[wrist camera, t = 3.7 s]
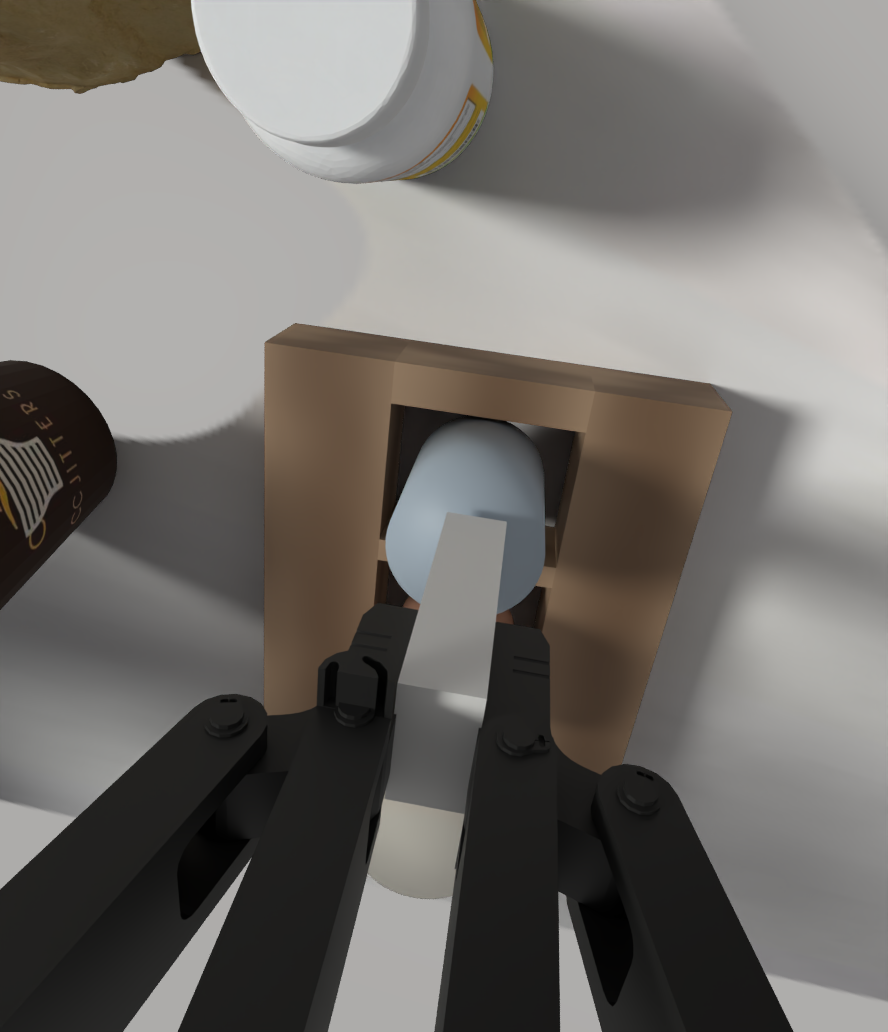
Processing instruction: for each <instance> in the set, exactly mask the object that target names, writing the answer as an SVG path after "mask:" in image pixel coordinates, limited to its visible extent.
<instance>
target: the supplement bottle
mask: <svg viewBox="0 0 888 1032" xmlns="http://www.w3.org/2000/svg"><path fill="white" fill-rule="evenodd" d="M191 8H192V14H193V21H194V26H195V32H196V36H197V39H198V43H199V46H200V49H201V52H202V54H203V57H204V60H205V62H206V64H207V66H208V68H209V70H210V72H211V74H212V76H213V78H214V80H215V81H216V83H217V85H218V86H219V88H220V89H221V91H222V92H223V93H224V95H225V96H226V97H227V99H228V100H229V101H230V102H231V103H232V104H233V106H234V107H235V108H236V109H237V110H238V111H239V112H240V113H241V114H242V116H243V117H244V119H245V120H246V122H247V123H248V125H249V126H250V127H251V129H252V130H253V131H254V133H255V134H256V135H257V136H258V137H259V139H260V140H261V141H262V142H263V143H264V144H265V145H266V146H267V147H268V148H269V149H271V150H272V151H273V152H274V153H275V154H276V155H278V156H279V157H280V158H281V159H283V160H284V161H286V162H287V163H289V164H290V165H292V166H294V167H295V168H297V169H299V170H301V171H303V172H305V173H307V174H310V175H312V176H315V177H318V178H321V179H325V180H330V181H334V182H341V183H353V184H359V183H371V182H382V181H393V180H406V179H413V178H419V177H422V176H424V175H427V174H430V173H433V172H435V171H437V170H439V169H441V168H443V167H444V166H446V165H447V164H449V163H450V162H452V161H453V160H454V159H456V158H457V157H458V156H459V155H460V154H461V153H462V152H463V151H464V150H465V149H466V147H467V146H468V145H469V144H470V142H471V141H472V139H473V138H474V137H475V135H476V133H477V132H478V130H479V128H480V126H481V124H482V122H483V120H484V117H485V115H486V112H487V109H488V106H489V102H490V97H491V93H492V85H493V56H492V48H491V43H490V38H489V35H488V31H487V28H486V25H485V22H484V19H483V17H482V14H481V12H480V10H479V7H478V5H477V2H476V0H191Z"/></svg>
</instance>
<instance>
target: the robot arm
mask: <svg viewBox="0 0 888 1032" xmlns="http://www.w3.org/2000/svg"><path fill="white" fill-rule="evenodd" d="M506 526H507V522H506V521H500V520H494V519H488V518H482V517H476V516H469V515H463V514H457V513H451V512H447V514H446V518H445V521H444V525H443V528H442V532H441V535H440V538H439V542H438V545H437V549H436V552H435V556H434V559H433V562H432V566H431V569H430V573H429V576H428V580H427V583H426V587H425V590H424V593H423V597H422V600H421V604H420V607H419V610H416V609H411V608H405V607H399V606H393V605H387V604H382V603H377V604H376V605H375V606H373V607H372V608H371V609H369V610H368V611H367V612H366V613H364V614H363V616H362V618H361V621H360V623H359V625H358V628H357V631H356V633H355V635H354V638H353V640H352V643H351V645H350V647H349V650H348V651H344V652H339V653H336V654H334V655H332V656H330V657H328V658H326V659H325V660H324V661H323V663H322V664H321V665H320V666H319V667H318V683H317V705H316V706H315V707H313V708H312V709H309V710H306V711H303V712H299V713H293V714H283V715H268V716H267V712H266V710H265V709H264V707H263V706H262V704H261V703H259V702H258V701H256V700H254V699H253V698H251V697H248V696H243V695H238V694H229V695H219V696H216V697H213V698H210V699H207V700H205V701H203V702H202V703H200V704H199V705H197V706H196V707H194V708H193V709H192V710H191V711H190V712H189V713H188V714H187V715H186V716H185V717H184V718H183V719H181V720H180V721H179V722H178V723H177V724H176V725H175V726H174V727H173V728H172V729H171V730H170V731H169V732H168V733H167V734H165V735H164V736H163V737H162V738H161V739H160V740H159V741H158V742H157V743H156V744H155V745H154V746H153V747H152V748H151V749H149V750H148V751H147V752H146V753H145V754H144V755H143V756H142V757H141V758H140V759H139V760H138V761H137V762H136V763H135V764H134V765H132V766H131V767H130V768H129V769H128V770H127V771H126V772H125V773H124V774H123V775H122V776H121V777H120V778H119V779H118V780H116V781H115V782H114V783H113V784H112V785H111V786H110V787H109V788H108V789H107V790H106V791H105V792H104V793H103V794H102V795H100V796H99V797H98V798H97V799H96V800H95V801H94V802H93V803H92V804H91V805H90V806H89V807H88V808H87V809H86V810H84V811H83V812H82V813H81V814H80V815H79V816H78V817H77V818H76V819H75V820H74V821H73V822H72V823H71V824H70V825H69V826H67V827H66V828H65V829H64V830H63V831H62V832H61V833H60V834H59V835H58V836H57V837H56V838H55V839H54V840H52V842H50V843H49V844H48V845H47V846H46V847H45V848H44V849H43V850H42V851H41V852H40V853H39V854H38V855H37V856H36V857H34V858H33V859H32V860H31V861H30V862H29V863H28V864H27V865H26V866H25V867H24V868H23V869H22V870H21V871H19V872H18V874H16V875H15V876H14V877H13V878H12V879H11V880H10V881H9V882H8V883H7V884H6V885H5V886H4V887H3V888H1V890H0V1032H123V1031H124V1029H125V1028H126V1027H127V1025H128V1024H129V1023H130V1021H131V1020H132V1019H133V1017H134V1016H135V1015H136V1013H137V1012H138V1010H139V1009H140V1008H141V1006H142V1005H143V1004H144V1002H145V1001H146V1000H147V998H148V997H149V996H150V994H151V993H152V992H153V990H154V989H155V987H156V986H157V985H158V983H159V982H160V981H161V979H162V978H163V977H164V975H165V974H166V972H167V971H168V970H169V969H170V967H171V966H172V964H173V963H174V962H175V960H176V959H177V957H178V956H179V955H180V954H181V952H182V951H183V950H184V948H185V947H186V945H187V944H188V943H189V941H190V940H191V939H192V937H193V936H194V935H195V933H196V932H197V931H198V929H199V928H200V927H201V925H202V924H203V922H204V921H205V920H206V918H207V917H208V916H209V914H210V913H211V912H212V910H213V909H214V908H215V906H216V905H217V903H218V902H219V901H220V899H221V898H222V897H223V895H224V894H225V893H226V891H227V890H228V889H229V887H230V886H231V884H232V883H233V882H234V881H235V879H236V877H237V876H238V875H239V874H240V872H241V871H242V870H243V868H244V867H245V866H246V864H247V863H248V862H249V860H250V859H251V861H250V863H249V865H248V868H247V870H246V872H245V875H244V877H243V880H242V882H241V884H240V887H239V889H238V891H237V894H236V896H235V898H234V901H233V903H232V905H231V908H230V910H229V912H228V915H227V917H226V919H225V922H224V924H223V927H222V929H221V931H220V934H219V936H218V938H217V941H216V943H215V945H214V948H213V950H212V953H211V955H210V957H209V959H208V962H207V964H206V967H205V969H204V971H203V974H202V976H201V978H200V981H199V983H198V985H197V988H196V990H195V992H194V995H193V997H192V1000H191V1002H190V1004H189V1006H188V1009H187V1011H186V1014H185V1016H184V1018H183V1021H182V1023H181V1025H180V1028H179V1030H178V1032H328V1028H329V1024H330V1020H331V1016H332V1012H333V1008H334V1004H335V1000H336V996H337V992H338V988H339V984H340V981H341V977H342V973H343V969H344V965H345V960H346V957H347V952H348V948H349V945H350V940H351V937H352V933H353V929H354V925H355V921H356V917H357V912H358V909H359V905H360V901H361V897H362V893H363V889H364V885H365V881H366V877H367V873H368V869H369V865H370V861H371V857H372V853H373V849H374V845H375V841H376V837H377V833H378V829H379V825H380V818H381V808H382V802H383V799H384V795H385V799H387V800H393V801H398V802H403V803H408V804H414V805H419V806H424V807H429V808H435V809H440V810H445V811H450V812H455V813H461V814H464V821H463V826H462V832H461V837H460V842H459V848H458V853H457V858H456V864H455V869H456V873H455V881H454V888H453V896H452V903H451V911H450V919H449V926H448V934H447V941H446V949H445V956H444V964H443V971H442V979H441V986H440V994H439V1001H438V1009H437V1017H436V1024H435V1031H434V1032H560V989H559V909H558V891H559V892H561V893H563V894H565V895H566V897H567V905H568V909H569V912H570V916H571V920H572V923H573V927H574V931H575V934H576V938H577V942H578V945H579V949H580V952H581V956H582V960H583V964H584V967H585V971H586V974H587V978H588V982H589V985H590V989H591V993H592V996H593V1000H594V1003H595V1007H596V1011H597V1015H598V1018H599V1022H600V1026H601V1029H602V1032H793V1030H792V1028H791V1026H790V1024H789V1022H788V1020H787V1018H786V1015H785V1013H784V1011H783V1010H782V1007H781V1005H780V1004H779V1001H778V999H777V997H776V995H775V993H774V991H773V989H772V987H771V985H770V983H769V981H768V979H767V977H766V975H765V973H764V971H763V968H762V966H761V964H760V962H759V960H758V958H757V956H756V954H755V952H754V950H753V948H752V946H751V944H750V942H749V940H748V938H747V936H746V934H745V932H744V930H743V928H742V926H741V924H740V921H739V919H738V917H737V915H736V913H735V911H734V909H733V907H732V905H731V903H730V901H729V899H728V897H727V895H726V893H725V891H724V889H723V887H722V885H721V883H720V881H719V879H718V877H717V874H716V872H715V870H714V868H713V866H712V864H711V862H710V860H709V858H708V856H707V854H706V852H705V850H704V848H703V846H702V844H701V842H700V840H699V838H698V836H697V834H696V832H695V830H694V827H693V825H692V823H691V821H690V819H689V817H688V815H687V813H686V811H685V809H684V807H683V805H682V803H681V801H680V799H679V797H678V795H677V794H676V792H675V791H674V790H673V788H672V787H671V785H670V784H669V783H668V782H667V781H665V780H664V779H663V778H662V777H660V776H659V775H658V774H656V773H655V772H652V771H650V770H648V769H645V768H643V767H641V766H635V765H628V764H623V765H617V766H612V767H610V768H609V769H607V770H606V771H604V772H603V773H602V775H600V774H598V773H596V772H594V771H592V770H589V769H587V768H585V767H583V766H581V765H579V764H577V763H576V762H574V761H572V760H571V759H570V758H568V757H567V756H566V755H565V754H564V753H563V752H562V751H561V750H560V749H559V748H558V746H557V745H556V743H555V741H554V738H553V737H552V734H551V728H550V645H549V643H548V642H547V640H546V638H545V637H544V635H543V633H542V632H541V630H540V629H536V628H530V627H524V626H518V625H512V624H507V623H501V622H496V614H497V605H498V596H499V587H500V579H501V570H502V561H503V552H504V543H505V534H506ZM251 857H252V858H251Z"/></svg>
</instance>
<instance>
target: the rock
mask: <svg viewBox="0 0 888 1032" xmlns="http://www.w3.org/2000/svg"><path fill="white" fill-rule="evenodd" d="M199 52H201V49H200V46H199V43H198V39H197V36H196V32H195V26H194V21H193V14H192V8H191V0H0V81H1V82H7V83H15V84H34V85H38V86H41V87H45V88H49V89H72V90H73V91H74V92H75V93H78V94H81V93H84V92H86V91H88V90H90V89H93V88H97V87H98V86H103V85H108V84H115V83H119V82H121V83H125V82H128V81H132V80H135V79H136V77H137V76H138V75H140V74H143V73H147V72H152V71H154V70H156V69H158V68H160V67H161V66H162V65H163V63H164V62H165V61H166V60H170V59H174V58H177V57H179V56H181V55H183V54H191V55H195V54H197V53H199Z"/></svg>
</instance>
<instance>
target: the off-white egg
mask: <svg viewBox="0 0 888 1032" xmlns="http://www.w3.org/2000/svg"><path fill="white" fill-rule="evenodd" d="M463 821H464V814H461V813H455V812H450V811H445V810H440V809H435V808H429V807H424V806H419V805H414V804H408V803H403V802H398V801H393V800H387V799H385V795H384V799H383V802H382V808H381V818H380V825H379V829H378V833H377V837H376V841H375V845H374V849H373V853H372V857H371V861H370V865H369V869H368V874H369V875H370V876H371V877H372V878H373V879H374V880H375V881H377V882H378V883H379V884H381V885H382V886H384V887H386V888H387V889H389V890H391V891H394V892H396V893H398V894H401V895H405V896H409V897H413V898H420V899H439V898H445V897H449V896H453V888H454V881H455V873H456V869H455V864H456V858H457V853H458V848H459V842H460V837H461V832H462V826H463Z"/></svg>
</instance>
